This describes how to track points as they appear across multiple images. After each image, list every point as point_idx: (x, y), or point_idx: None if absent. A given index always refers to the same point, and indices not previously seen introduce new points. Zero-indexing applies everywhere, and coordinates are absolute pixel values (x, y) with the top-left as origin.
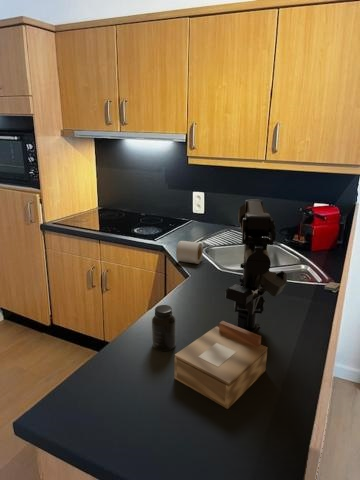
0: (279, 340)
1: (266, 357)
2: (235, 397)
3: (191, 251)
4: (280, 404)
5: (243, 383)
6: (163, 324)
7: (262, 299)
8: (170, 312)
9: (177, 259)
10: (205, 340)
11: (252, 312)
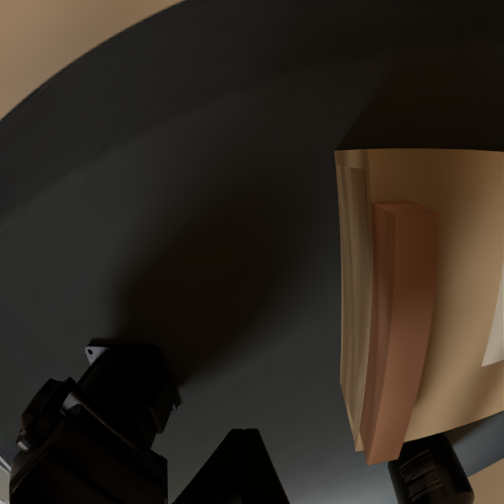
0: (94, 237)
1: (352, 150)
2: None
3: None
4: (442, 29)
5: None
6: (472, 497)
7: (34, 433)
8: None
9: None
10: (480, 400)
11: (257, 441)
